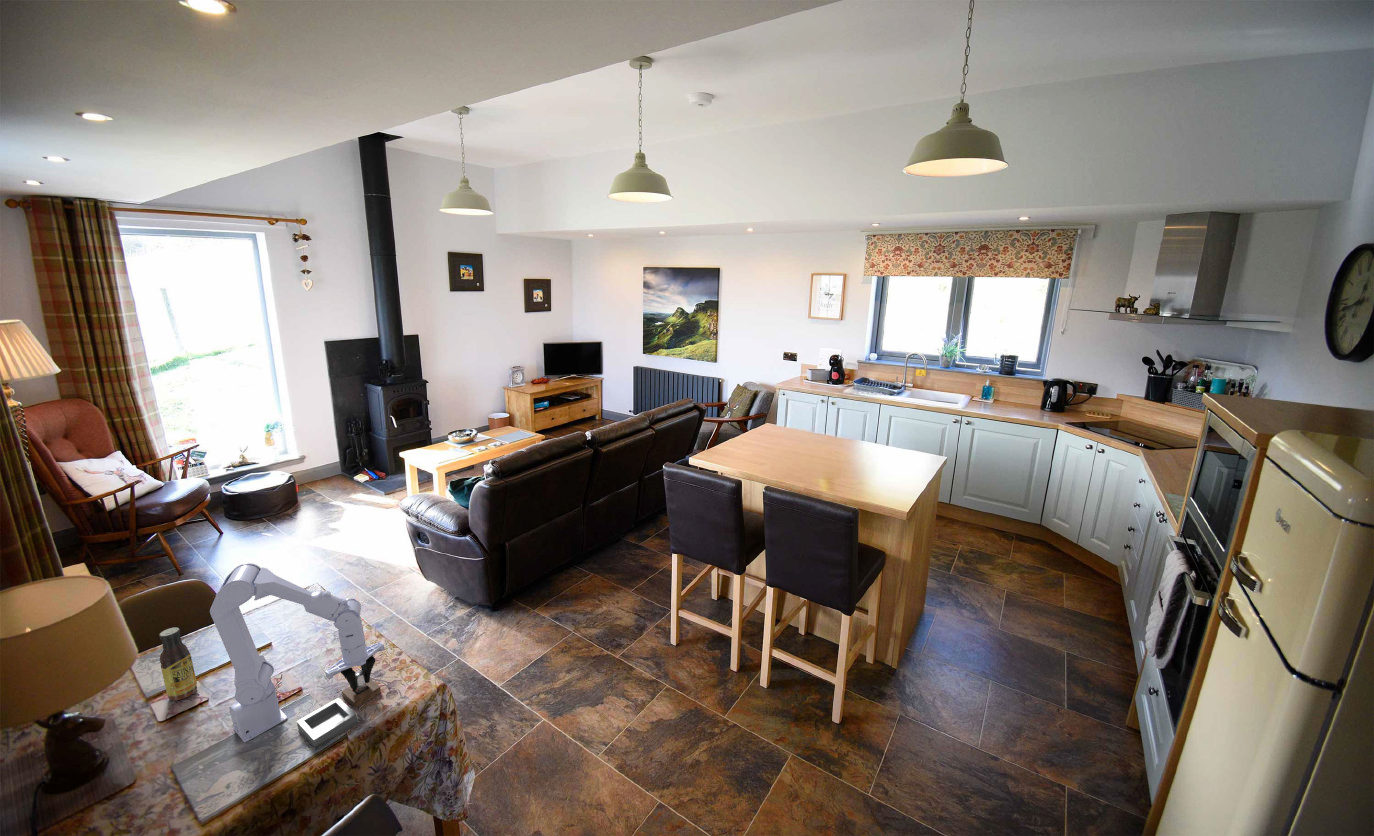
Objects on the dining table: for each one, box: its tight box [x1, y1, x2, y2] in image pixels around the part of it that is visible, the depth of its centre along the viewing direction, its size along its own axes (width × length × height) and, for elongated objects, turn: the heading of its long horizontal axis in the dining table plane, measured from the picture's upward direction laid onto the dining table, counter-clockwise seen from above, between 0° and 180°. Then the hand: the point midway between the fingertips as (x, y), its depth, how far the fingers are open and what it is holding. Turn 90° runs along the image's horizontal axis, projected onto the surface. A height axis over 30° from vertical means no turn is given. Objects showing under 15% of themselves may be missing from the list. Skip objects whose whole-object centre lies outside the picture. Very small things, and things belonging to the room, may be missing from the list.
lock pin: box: [355, 670, 367, 695], centre depth 152 cm, size 3×3×7 cm
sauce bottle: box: [159, 627, 198, 702], centre depth 150 cm, size 7×6×20 cm
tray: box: [296, 697, 359, 751], centre depth 142 cm, size 10×10×3 cm
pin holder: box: [341, 678, 382, 709], centre depth 152 cm, size 7×7×2 cm
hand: (360, 684), depth 152 cm, fingers closed on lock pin, 3 cm apart
